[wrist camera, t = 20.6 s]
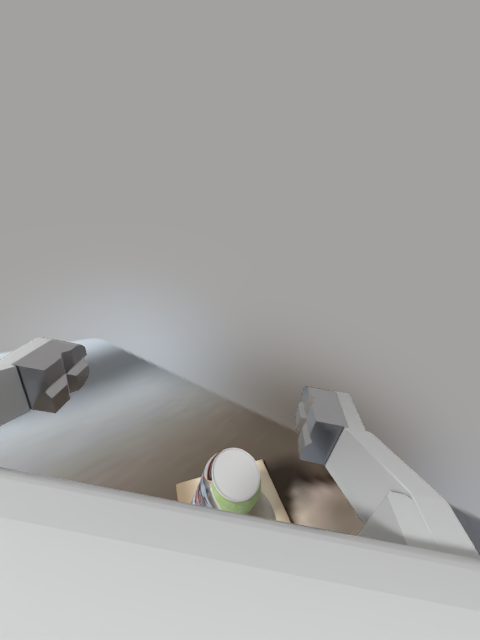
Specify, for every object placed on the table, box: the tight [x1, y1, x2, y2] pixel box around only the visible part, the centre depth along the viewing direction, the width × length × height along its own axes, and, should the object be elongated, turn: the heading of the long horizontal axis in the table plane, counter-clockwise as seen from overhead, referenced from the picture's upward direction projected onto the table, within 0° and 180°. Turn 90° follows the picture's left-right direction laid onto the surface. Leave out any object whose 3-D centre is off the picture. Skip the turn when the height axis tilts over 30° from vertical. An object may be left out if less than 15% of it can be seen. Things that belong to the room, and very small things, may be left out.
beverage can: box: [191, 448, 261, 515], centre depth 27 cm, size 6×7×12 cm
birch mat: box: [176, 460, 291, 523], centre depth 30 cm, size 13×13×1 cm
